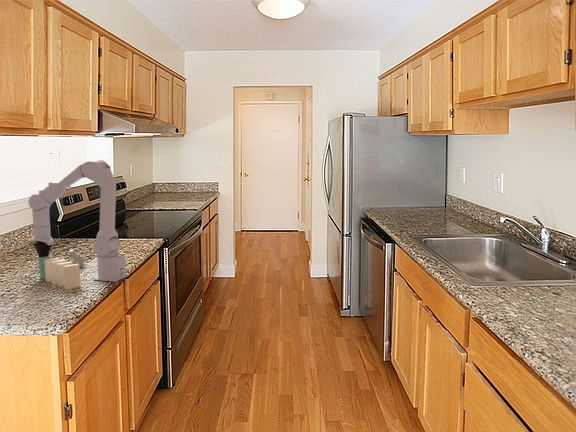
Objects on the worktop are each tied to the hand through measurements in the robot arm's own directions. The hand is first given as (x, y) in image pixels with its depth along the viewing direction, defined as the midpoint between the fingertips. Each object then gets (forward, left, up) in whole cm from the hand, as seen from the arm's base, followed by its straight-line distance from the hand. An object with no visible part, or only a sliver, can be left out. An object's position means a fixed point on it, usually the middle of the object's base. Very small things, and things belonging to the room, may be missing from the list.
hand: (43, 261), depth 202 cm
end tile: (-2, +1, -6) cm, 6 cm away
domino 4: (-19, +11, -6) cm, 23 cm away
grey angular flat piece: (-3, -16, -6) cm, 17 cm away
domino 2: (-11, +6, -6) cm, 14 cm away
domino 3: (-15, +9, -6) cm, 18 cm away
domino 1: (-6, +4, -6) cm, 9 cm away
